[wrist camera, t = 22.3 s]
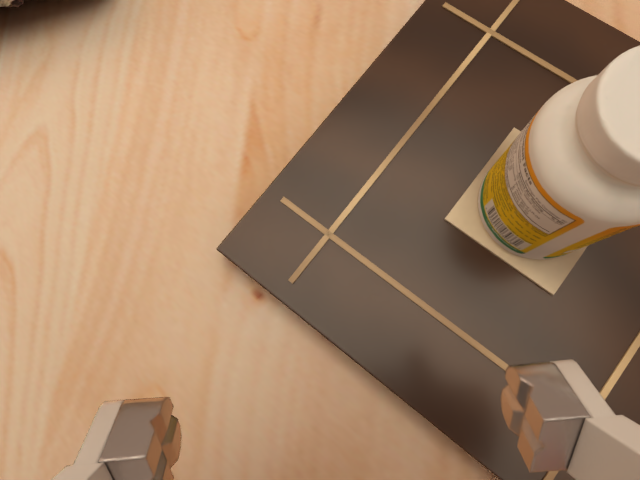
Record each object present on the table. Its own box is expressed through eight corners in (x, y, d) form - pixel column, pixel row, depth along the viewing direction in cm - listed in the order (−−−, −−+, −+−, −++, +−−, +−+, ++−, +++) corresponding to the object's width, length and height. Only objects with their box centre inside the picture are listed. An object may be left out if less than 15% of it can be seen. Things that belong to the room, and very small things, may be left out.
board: (597, 556, 20) (620, 575, 18) (223, 254, 24) (214, 247, 22) (830, 177, 23) (868, 164, 21) (463, -32, 27) (470, -57, 25)
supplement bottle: (466, 247, 21) (556, 172, 12) (485, 145, 23) (581, 4, 13) (583, 273, 21) (774, 216, 12) (597, 167, 22) (781, 36, 13)
